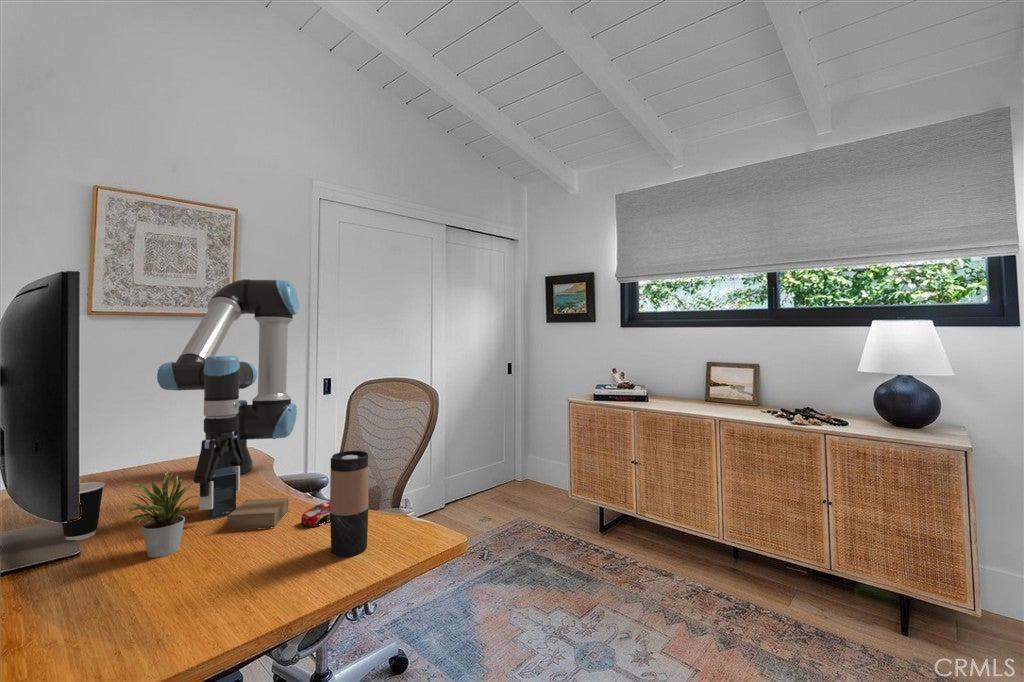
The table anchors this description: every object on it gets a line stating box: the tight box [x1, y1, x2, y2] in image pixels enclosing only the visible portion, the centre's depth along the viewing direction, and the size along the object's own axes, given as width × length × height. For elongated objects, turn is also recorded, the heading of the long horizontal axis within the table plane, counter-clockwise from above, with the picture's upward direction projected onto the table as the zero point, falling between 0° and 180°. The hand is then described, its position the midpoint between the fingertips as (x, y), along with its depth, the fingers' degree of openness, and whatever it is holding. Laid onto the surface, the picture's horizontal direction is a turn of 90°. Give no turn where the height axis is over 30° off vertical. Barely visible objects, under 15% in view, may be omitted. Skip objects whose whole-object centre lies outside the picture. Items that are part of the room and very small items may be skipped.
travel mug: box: [329, 450, 369, 558], centre depth 94 cm, size 8×8×20 cm
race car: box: [300, 501, 330, 528], centre depth 111 cm, size 13×5×4 cm, turn 144°
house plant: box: [119, 471, 199, 559], centre depth 93 cm, size 14×14×16 cm
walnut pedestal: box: [227, 497, 289, 531], centre depth 108 cm, size 10×10×4 cm
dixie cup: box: [61, 481, 106, 541], centre depth 100 cm, size 8×8×11 cm
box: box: [206, 467, 237, 520], centre depth 114 cm, size 8×6×11 cm
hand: (220, 499), depth 113 cm, fingers open, 13 cm apart
